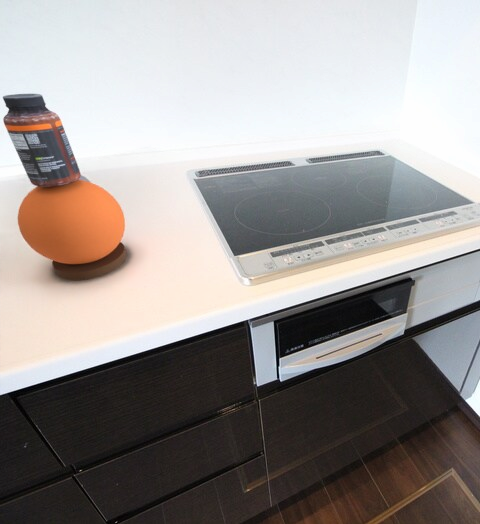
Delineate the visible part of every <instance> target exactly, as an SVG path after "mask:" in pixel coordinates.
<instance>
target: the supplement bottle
mask: <svg viewBox="0 0 480 524" xmlns="http://www.w3.org/2000/svg"><path fill="white" fill-rule="evenodd" d="M2 99H3V102H4V104H5V107H6V108H7V109H8V111H7V113H6V114H5V115H4V117H3V119H2V120H3V125H4V127H5V129H6V131H7V134H8V136H9V138H10V140H11V143H12V144H13V147H14V149H15V151H16V154H17V155H18V158H19V160H20V162H21V164H22V166H23V169H24V171H25V173H26V176H27V178H28V180H29V181H30V183H31V185H33V186H35V187H37V186H40V187H52V186H61V185H66V184H69V183H72V182H75V181H77V180H78V179H79V178H80V177H81V175H82V173H81V171H80V168H79V165H78V163H77V160H76V157H75V155H74V152H73V149H72V146H71V143H70V140H69V139H68V136H67V133H66V130H65V127H64V126H63V122H62V120H61V118H60V116H59V115H58V114H57V113H56V112H54V111H51V110H50V109H49V108H47V106H46V104H47V103H46V102H45V99H44V97H43V94H40V93H15V94H7V95H6V94H5V95H3V96H2Z"/></svg>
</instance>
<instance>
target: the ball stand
mask: <svg viewBox="0 0 480 524" xmlns="http://www.w3.org/2000/svg"><path fill="white" fill-rule="evenodd" d="M17 225H18V229H19V232H20V234H21V236H22V239H24V241H25V242H26V244H27V245H28V246H29V247H30V248H31V249H32V250H34V251H35V252H36V253H37V254H39V255H40V256H42V257H43V258H46V259H48V260H50V261H51V264H52V267H53V269H54V272H55V273H56V274H57V276H58V277H59V278H61V279H64V280H67V281H68V280H69V281H86V280H92V279H95V278H100V277H102V276H105V275H107V274H110V273H112V272H114V271H116V270H117V269H119V267H121V266H122V265H123V264H124V263H125V261H126V260H127V258H128V253H127V250H126V248H125V245H124V243H123V242H121V241H122V239H123V237H124V233H125V230H126V229H125V228H126V219H125V215H124V212H123V209H122V207H121V205H120V203H119V202H118V201H117V200H116V198H115V197H114V196H113V195H112V194H111V193H110V192H109V191H107V189H104V188H103V187H101V186H100V185H98V184H96V183H93V182H91V181H90V182H88V181H84V180H79V179H78V180H77V181H75V182H72V183H69V184H66V185H61V186H52V187H40V186H35V187H34V188H33V189H31V190H30V191H29V192H28V193H27V194H26V196H25V197H24V198H23V200H22V201H21V203H20V205H19V207H18V211H17Z"/></svg>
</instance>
